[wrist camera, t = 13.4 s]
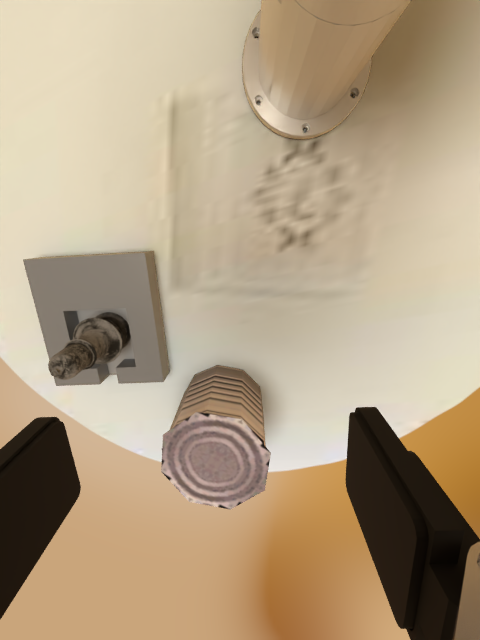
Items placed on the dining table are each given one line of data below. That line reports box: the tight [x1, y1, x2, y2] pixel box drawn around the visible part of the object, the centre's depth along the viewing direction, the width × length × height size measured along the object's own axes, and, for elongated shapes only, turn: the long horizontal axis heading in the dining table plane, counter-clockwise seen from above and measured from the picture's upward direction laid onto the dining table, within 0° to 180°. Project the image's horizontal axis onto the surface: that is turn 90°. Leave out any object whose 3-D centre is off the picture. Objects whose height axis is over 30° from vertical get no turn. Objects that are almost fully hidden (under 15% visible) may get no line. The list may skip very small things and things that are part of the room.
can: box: [161, 365, 271, 509], centre depth 36 cm, size 11×11×12 cm
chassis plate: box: [23, 251, 170, 386], centre depth 37 cm, size 16×14×3 cm
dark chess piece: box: [48, 312, 131, 380], centre depth 33 cm, size 6×6×12 cm
